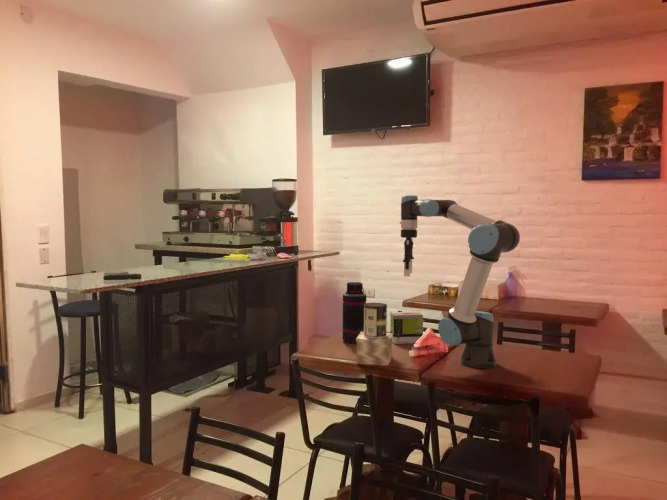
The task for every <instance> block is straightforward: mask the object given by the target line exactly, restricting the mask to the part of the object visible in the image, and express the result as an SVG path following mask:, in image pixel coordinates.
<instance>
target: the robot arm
mask: <svg viewBox="0 0 667 500" xmlns="http://www.w3.org/2000/svg"><path fill="white" fill-rule="evenodd" d="M418 217H426V218H428V217H429V218H430V217H443V218H445V219H448V220H450V221H452V222H454V223H457V224H458V225H460V226H464V227H465V228H467V229H470V232H469V234H468V237H467V243H468V247H469V254H470V256H471V257H470V261H469V263H468V264H469V265H468V267H467V270H466V273H465V275H464V279H463V281H462V284H461V287H460V290H459V293H458V295H457V299H456V302H455V305H454V306H453V307H451V308H449V310H448V313H447V316H446V317H444V318H443V317H442V319H440V321H439V322H438V324H437V325H438V326H437V329H438V334H439V337H440V338H441V340H442V341H443V342H444V343H445V344H447V346H459V345H463V344H465V345H464V347H463V350H462V353H461V356H460V364H462V365H463V366H466V367H468V368H469V367H470V368H474V369H490V368H491V369H492V368H495V367H496V366H497V357H496V354H495V351H494V345H493V344H494V324H495V322H494V315H493V314H492V313H491V312H486V311H482V310H477V308H478V305H479V303H480V300H481V297H482V295H483V292H484V290H485V287H486V284H487V281H488V278H489V275H490V273H491V270H492V268H493V264H497V263H498V262H499V260H500V258H501V254H502V253H510V252H511V251H512V252H513V250H514V249H516V248H517V247H518V246H519V243H520V241H521V236H520V235H521V234H520V232H519V230H518V228H517V227H516V226H514V225H513V224H511V223H509V222H506V221H503V220H502V219H501V220H500V219H498V220H495V219H492V218H490V217H487V216H485V215H483V214H480V213H478V212H476V211H473V210H471V209H469V208H466V207H464V206H461V205H459V204H458V203H457V202H456V201H455V200H453V199H452V200H450V199H430V198H429V199H419V198H418V196H417V195H412V194H411V195H402V197H401V201H400V221H399V224H400V229H401V230H400V237H401V238H403V239H405V240H404V242H403V245H404V247H403V250H404V257H403V259H402V263H403V264H404V265H403V277H406V278H407V277H408V278H409V277H411V274H413V260H414V259H415V257H414V255H413V248H414V241H413V239H415V238H417V237H418Z"/></svg>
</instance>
